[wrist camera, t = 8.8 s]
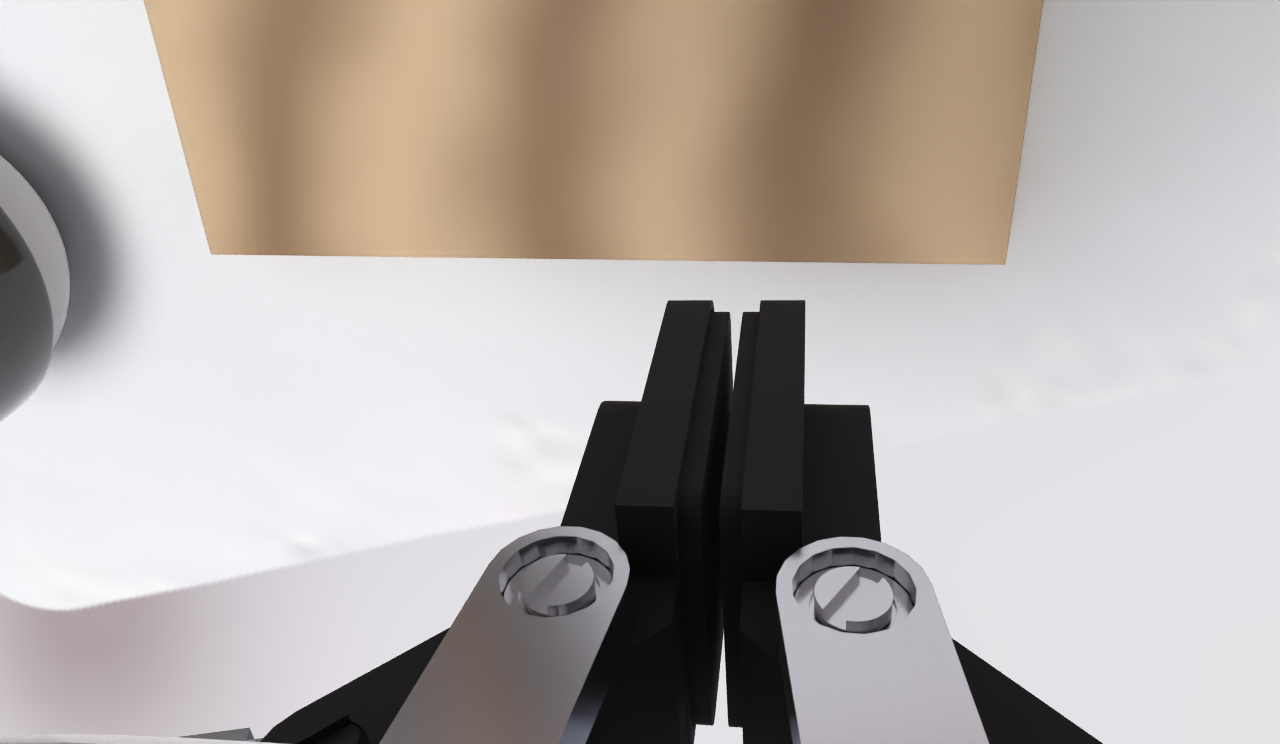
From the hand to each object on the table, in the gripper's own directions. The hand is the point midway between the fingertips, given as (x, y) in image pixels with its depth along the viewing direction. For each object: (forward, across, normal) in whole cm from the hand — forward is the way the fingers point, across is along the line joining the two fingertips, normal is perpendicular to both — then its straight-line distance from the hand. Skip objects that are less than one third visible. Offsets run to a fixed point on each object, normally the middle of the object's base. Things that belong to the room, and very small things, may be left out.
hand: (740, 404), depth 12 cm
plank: (+15, +5, +1) cm, 16 cm away
